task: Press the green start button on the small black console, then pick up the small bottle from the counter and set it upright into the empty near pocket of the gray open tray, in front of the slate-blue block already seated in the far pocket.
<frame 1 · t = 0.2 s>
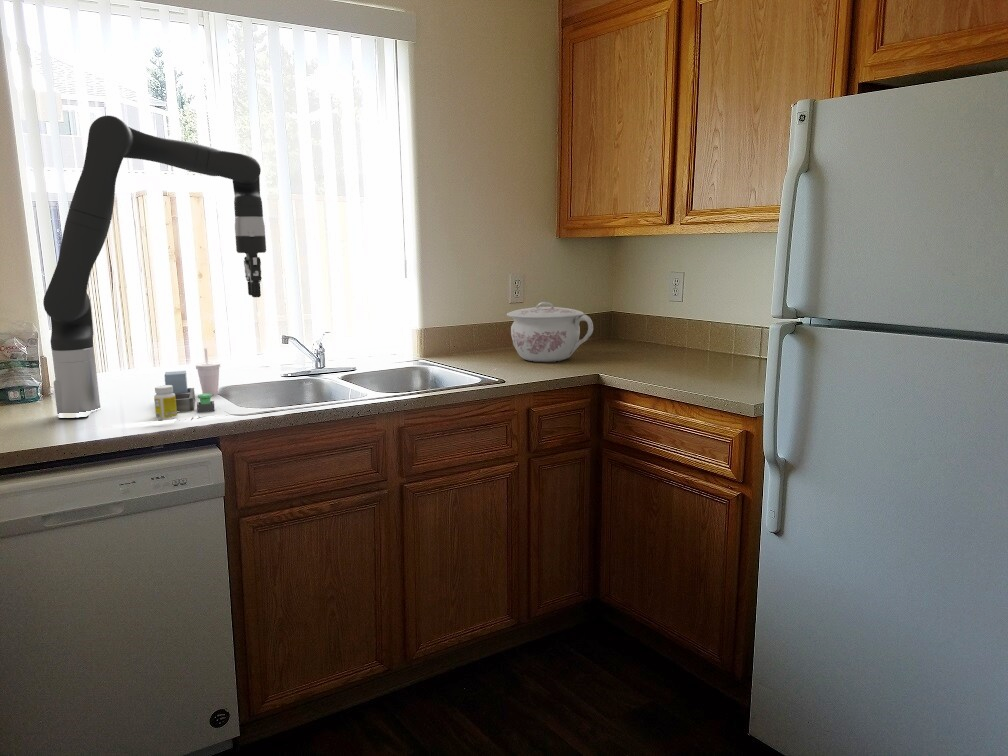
hand: (254, 296, 203), 28 cm above the worktop, tool pointing down, fingers open, 8 cm apart
gray open tray: (177, 409, 198), on the worktop
supplement bottle: (167, 420, 186), on the worktop
start button: (205, 402, 191), point 3 cm above the worktop, slide at 0.0 cm
chamber pot: (545, 360, 271), on the worktop
console: (206, 414, 191), on the worktop
blue block: (178, 402, 201), point 1 cm above the worktop, touching gray open tray
smoothie: (210, 399, 212), on the worktop
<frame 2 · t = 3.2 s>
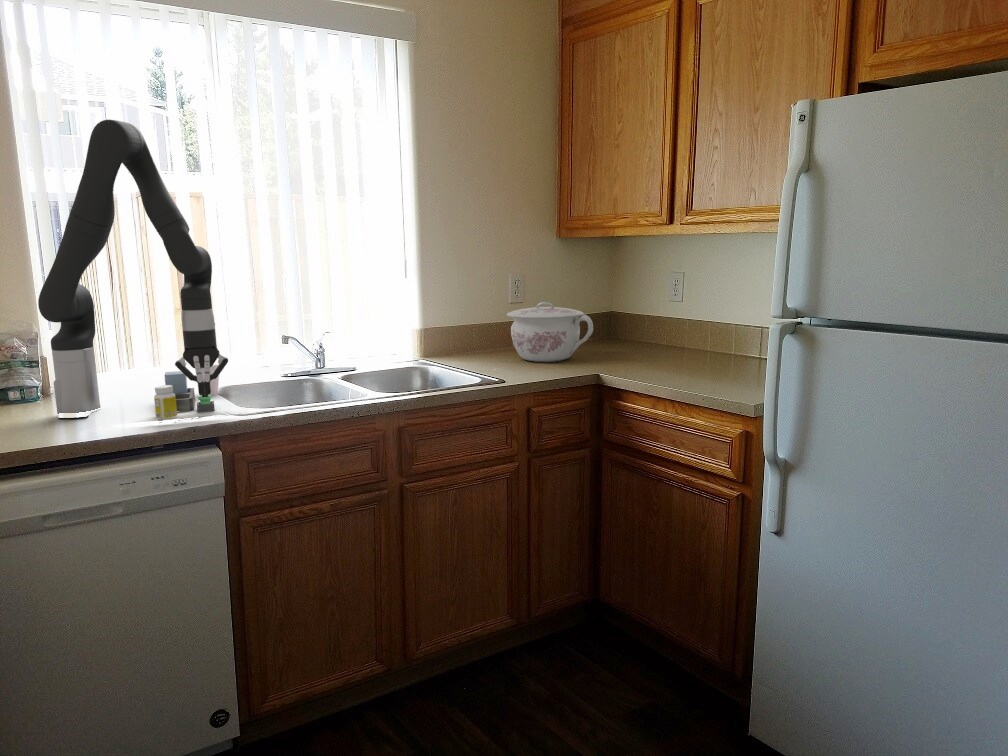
hand: (205, 396, 191), 5 cm above the worktop, tool pointing down, fingers closed
start button: (205, 404, 191), point 3 cm above the worktop, slide at -0.4 cm, touching gripper
everything else where it was.
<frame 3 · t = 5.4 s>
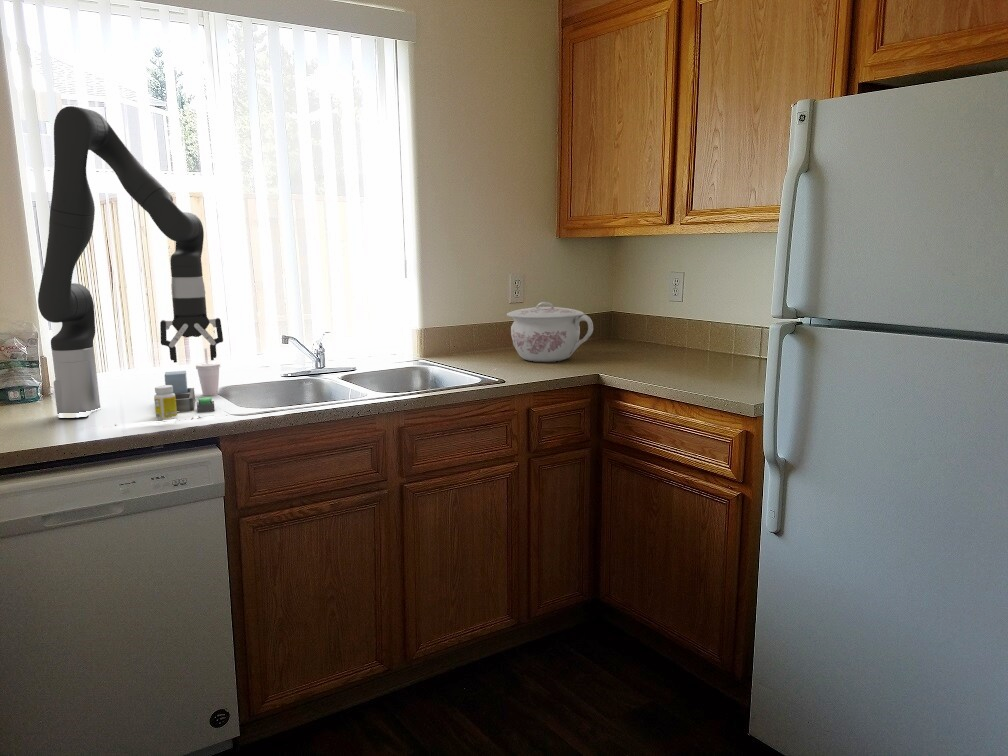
hand: (194, 361, 188), 14 cm above the worktop, tool pointing down, fingers open, 8 cm apart
start button: (205, 406, 191), point 2 cm above the worktop, slide at -1.0 cm
everything else where it was.
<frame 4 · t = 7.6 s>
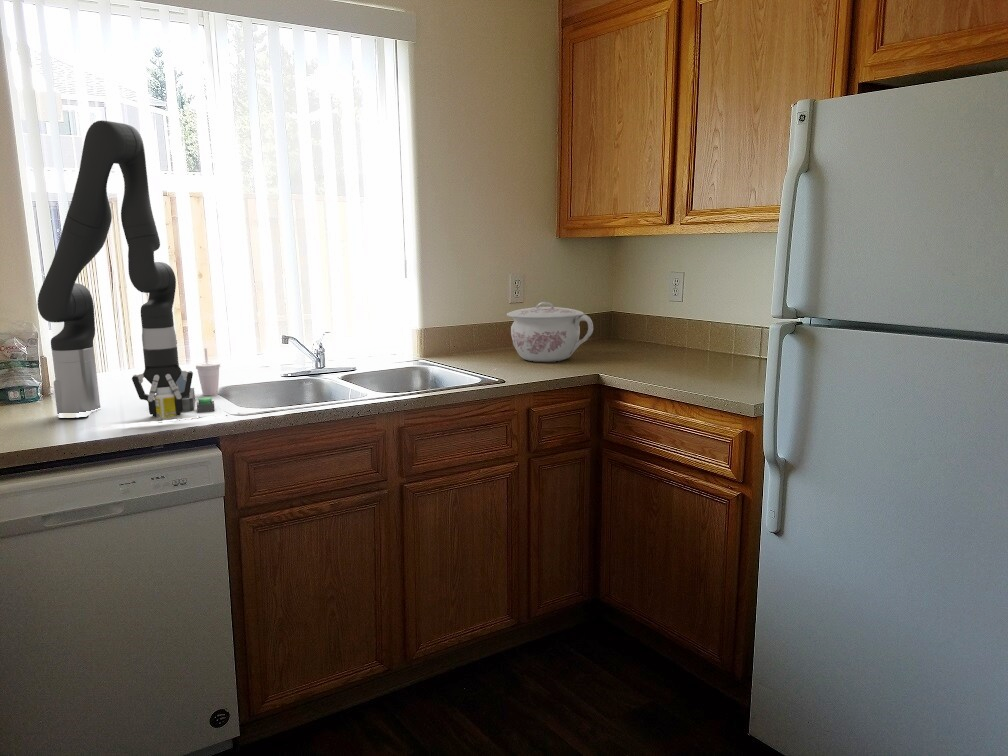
hand: (166, 414, 186), 1 cm above the worktop, tool pointing down, fingers closed on supplement bottle, 4 cm apart
supplement bottle: (167, 420, 186), on the worktop, touching gripper
everything else where it was.
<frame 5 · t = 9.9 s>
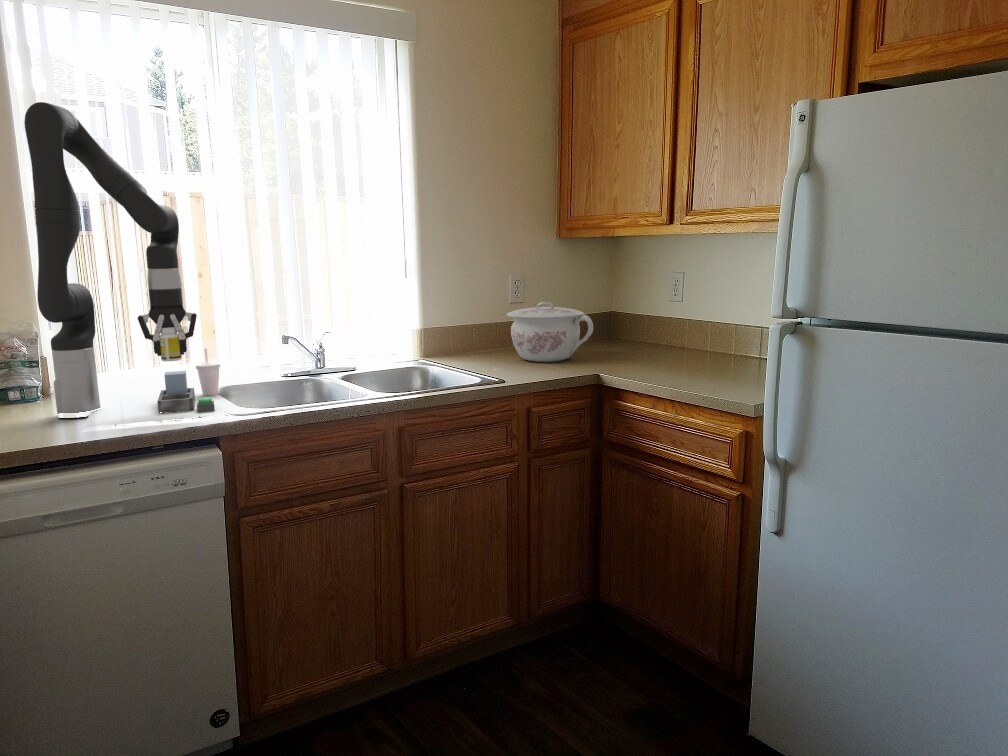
hand: (171, 354, 191), 15 cm above the worktop, tool pointing down, fingers closed on supplement bottle, 4 cm apart
supplement bottle: (171, 361, 191), point 13 cm above the worktop, touching gripper
everything else where it was.
when the fingers open (5 cm above the worktop, at t = 12.1 s): supplement bottle drops 2 cm, resting on gray open tray.
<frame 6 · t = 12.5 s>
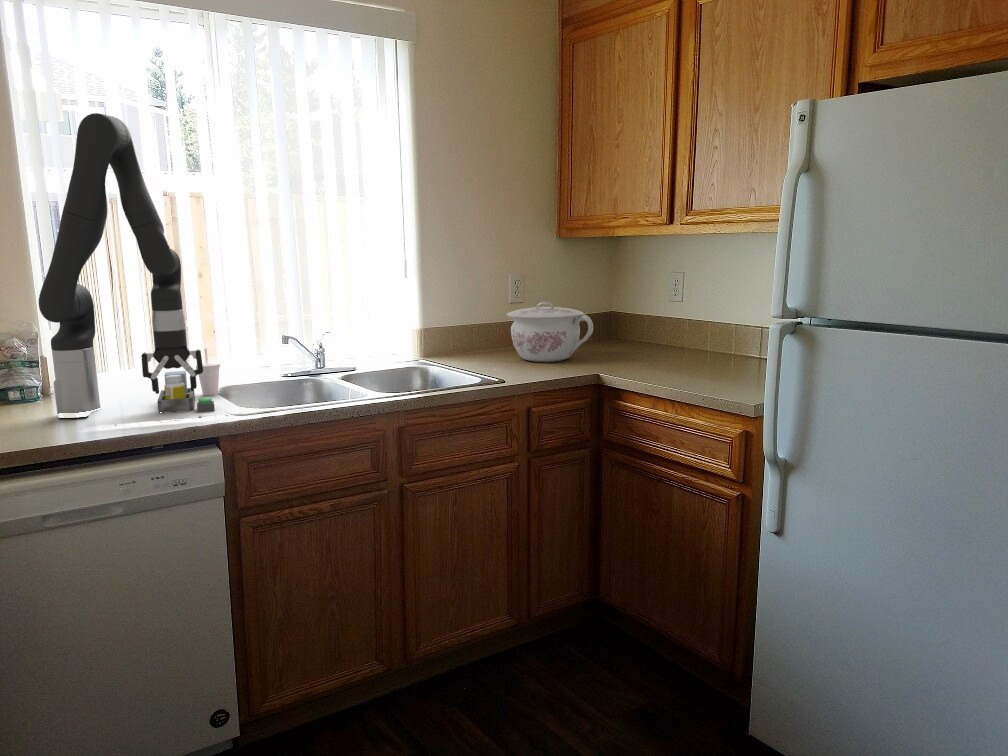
hand: (175, 391, 193), 6 cm above the worktop, tool pointing down, fingers open, 8 cm apart
supplement bottle: (176, 409, 194), point 1 cm above the worktop, touching gray open tray
everything else where it was.
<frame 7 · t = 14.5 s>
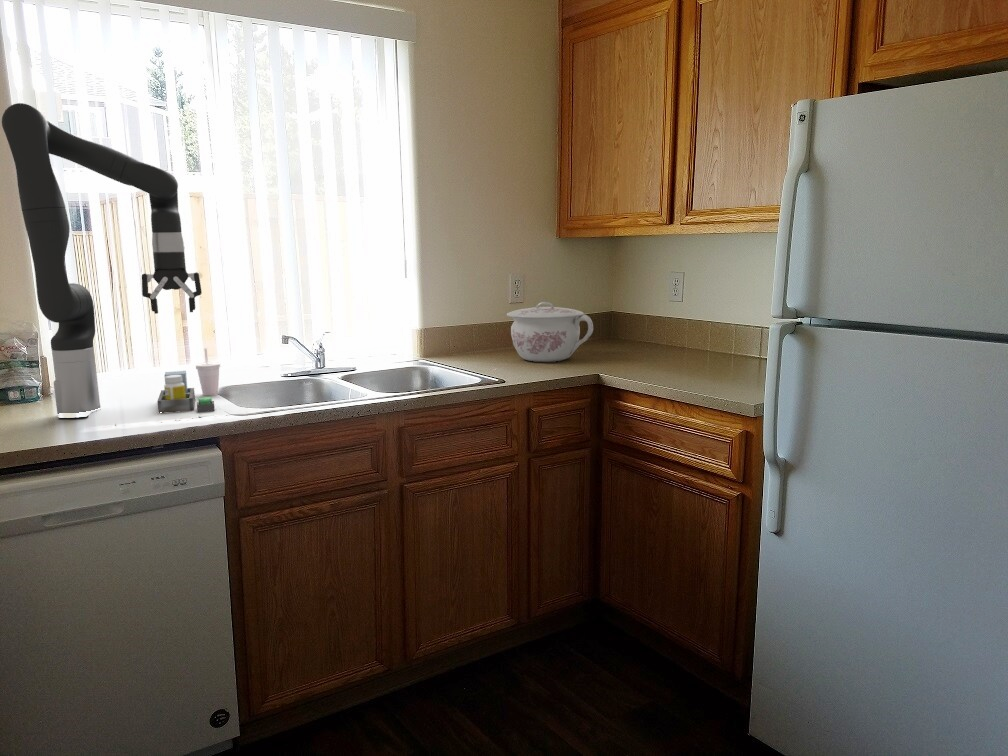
hand: (174, 312, 200), 25 cm above the worktop, tool pointing down, fingers open, 8 cm apart
nothing on the worktop moved.
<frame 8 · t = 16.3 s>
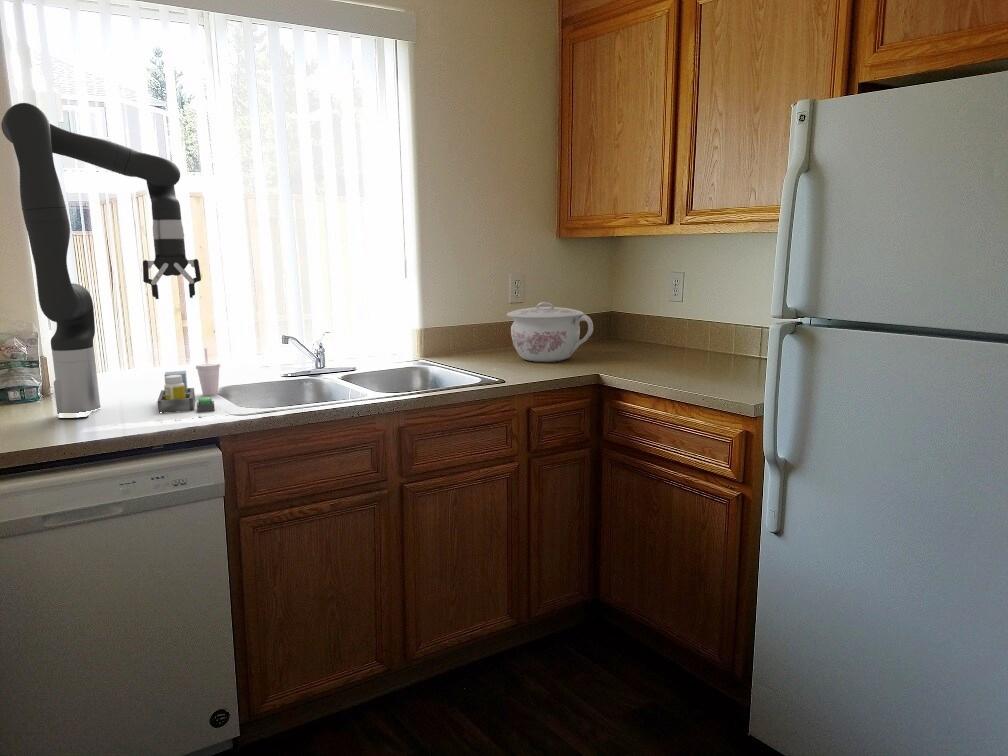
hand: (174, 298, 206), 28 cm above the worktop, tool pointing down, fingers open, 8 cm apart
nothing on the worktop moved.
at the end: supplement bottle 0.0 cm from the target spot on the gray open tray, point 1.0 cm above the gray open tray's base; supplement bottle tilted 0°; start button slide at -1.0 cm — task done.
